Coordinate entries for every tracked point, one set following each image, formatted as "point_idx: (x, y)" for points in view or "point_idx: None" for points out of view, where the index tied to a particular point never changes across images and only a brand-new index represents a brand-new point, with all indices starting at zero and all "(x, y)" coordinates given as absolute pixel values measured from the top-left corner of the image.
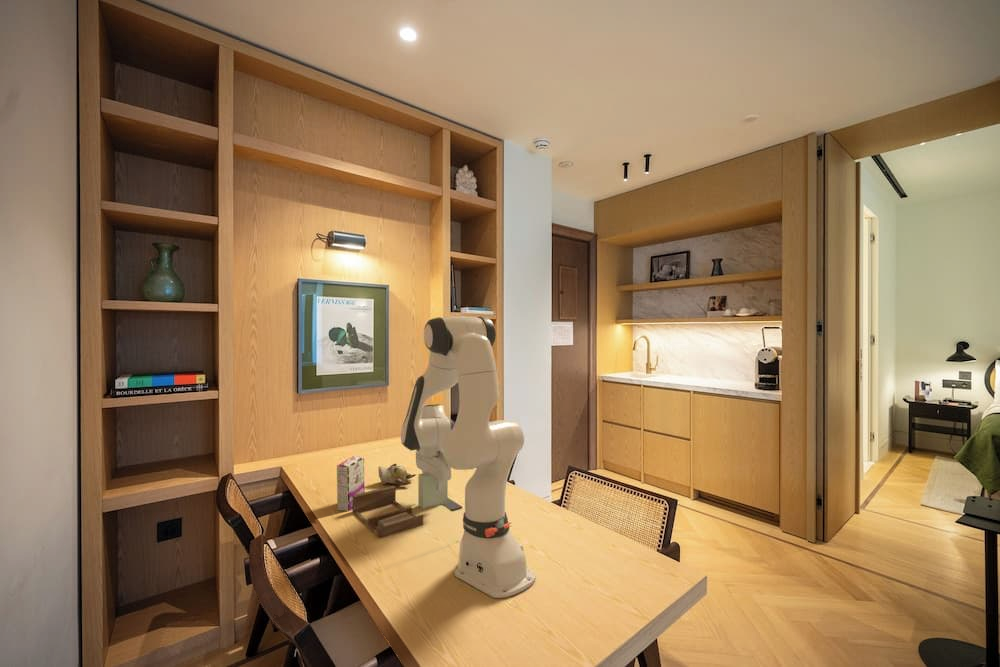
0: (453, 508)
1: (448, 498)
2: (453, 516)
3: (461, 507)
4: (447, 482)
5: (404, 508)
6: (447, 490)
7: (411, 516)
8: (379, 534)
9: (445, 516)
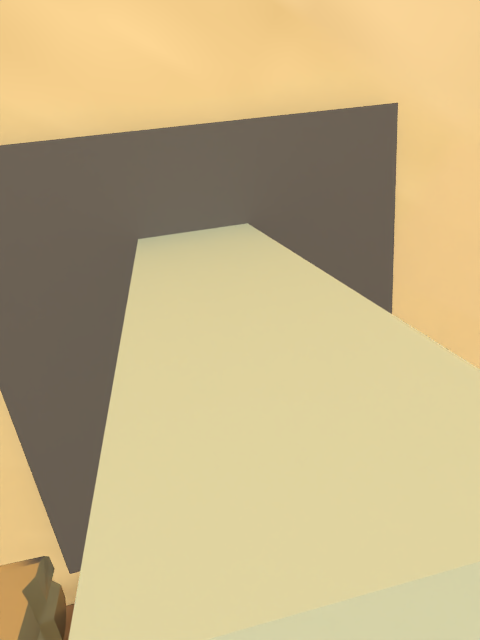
0: (382, 213)
1: (97, 141)
2: (474, 264)
3: (393, 113)
4: (360, 296)
5: None
6: (298, 255)
7: None
8: None
9: (432, 323)
